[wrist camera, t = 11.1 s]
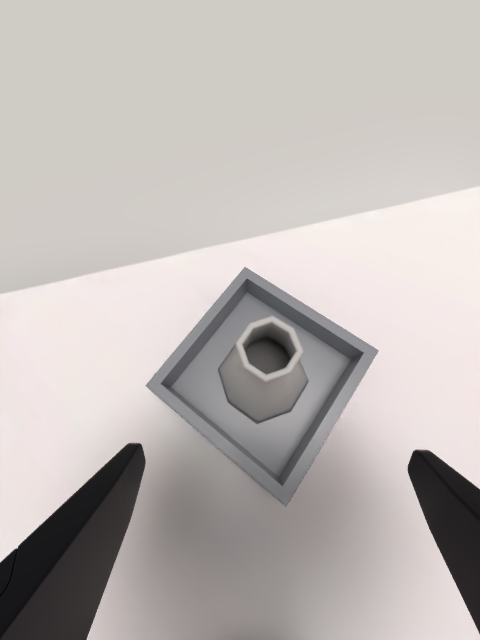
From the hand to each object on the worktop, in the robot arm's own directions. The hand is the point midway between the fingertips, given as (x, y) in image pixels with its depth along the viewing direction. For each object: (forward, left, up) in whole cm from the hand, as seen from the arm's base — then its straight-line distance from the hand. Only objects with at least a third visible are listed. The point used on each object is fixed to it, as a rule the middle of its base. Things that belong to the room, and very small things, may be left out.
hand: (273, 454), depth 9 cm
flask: (+4, +2, -13) cm, 14 cm away
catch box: (+4, +3, -14) cm, 14 cm away
